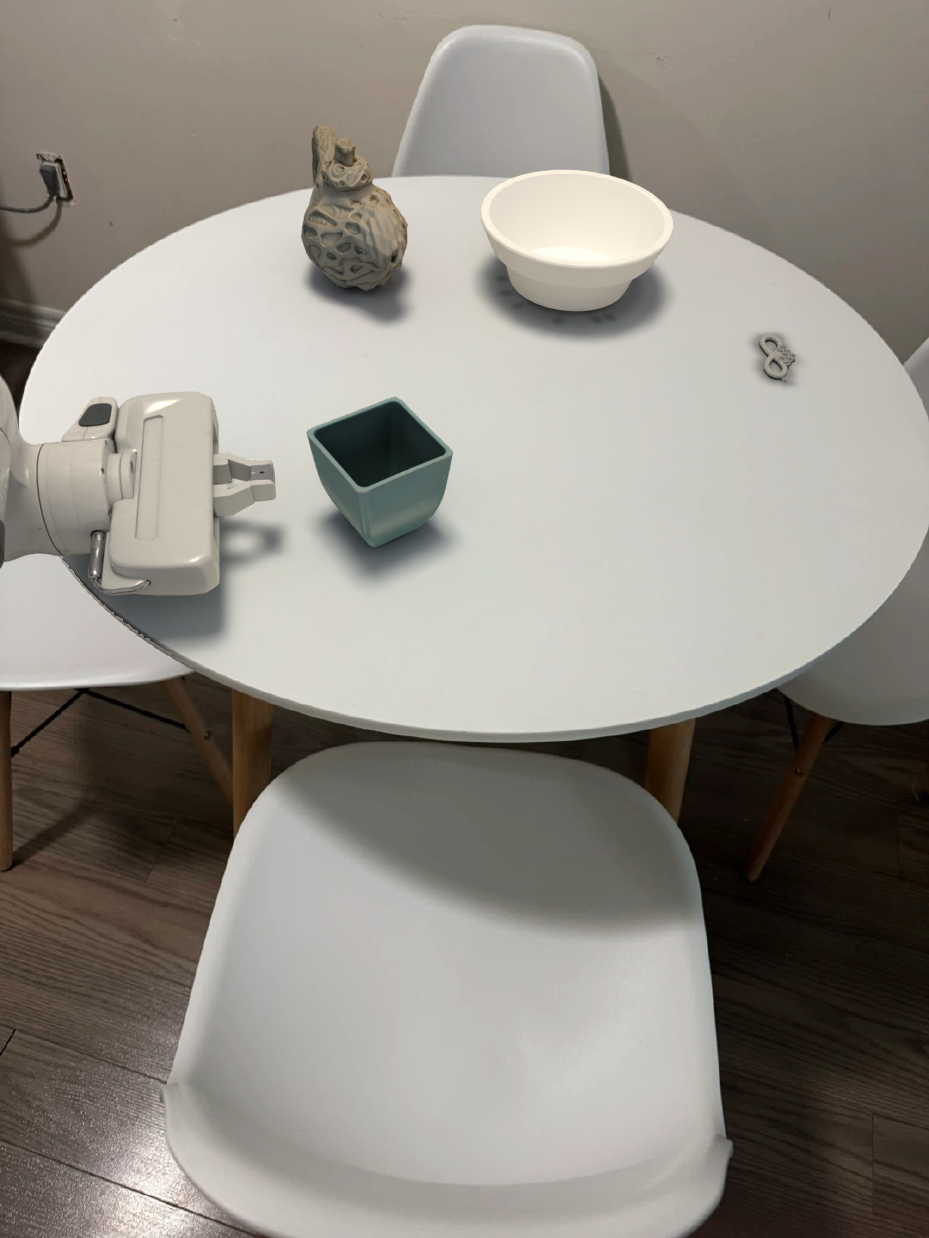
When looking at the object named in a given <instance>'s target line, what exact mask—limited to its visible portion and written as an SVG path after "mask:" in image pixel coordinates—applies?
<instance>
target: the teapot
mask: <svg viewBox="0 0 929 1238" xmlns="http://www.w3.org/2000/svg"><path fill="white" fill-rule="evenodd" d="M310 142H311V143H310V145H311V154H312V156H311V157H312V158H311V159H312V160H311V162H312V163H311V172H312V183H313V188H312V192H311V195H310V198H309V202H308V205H307V207H306V209H305V212H304V215H303V220H302V224H301V235H300V238H301V242H302V244H303V248H304V251H305V254H306V255H307V257H308V259H309V260H310V261H311V262H312V263H313V264H314V266H318V267H319V269H320V271H321V272H322V274H323V275H325V276H326V277H327V278H328V279H329V280H330V281H332V282H333V283H334V284H335V286H337V287H338V288H340V289H343V288H352V287H357V288H359V289H361V290H362V291H364V292H367V291H371V290H372V289H374V288H376V287H377V286H379V287H383V286H385V285H386V284H387V281H388V280H389V279H390V277H391V276H392V274H393V272H394V271H395V270H397V269H399V268H400V267H402V264H403V260H404V259H403V258H404V256H405V253H406V250H407V248H408V247H407V246H408V226H409V224H408V222H407V219H405V217H404V216H403V215H402V213H401V211H400V210H399V208H397V206H396V205H395V203H394V202H393V199H392V195H391V194H390V193H389V192H388V191H387V190H385V189H383V188H381V187H380V186H377V185H375V184H374V183H373V180H374V177H375V176H374V174H373V170H372V168H371V166H370V164H369V163H368V161H367V160H366V159H365V158H363V157H362V156H361V155H358V154H357V153H355V151H356V147H357V146H356V145H355V144H354V143H353V142H351V140H349V139H348V138H347V137H346V136H342V137H340V138H339V139H338V137H337V135H336V133H335V132H334V130H333V128H332V127H330V125H328V124H316V125H315V126H314V128H313V130H312V137H311V141H310Z"/></svg>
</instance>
